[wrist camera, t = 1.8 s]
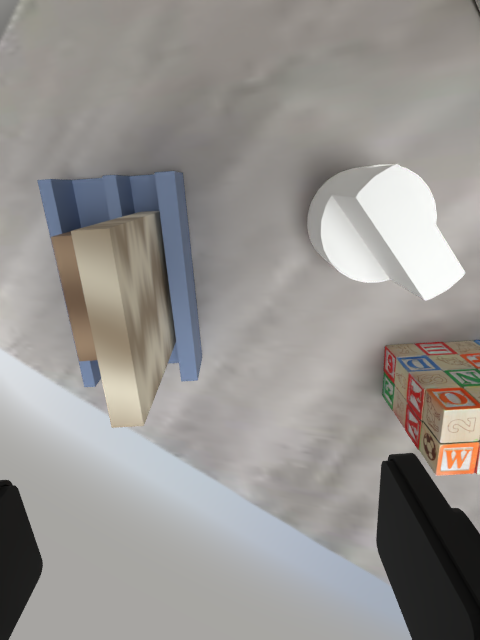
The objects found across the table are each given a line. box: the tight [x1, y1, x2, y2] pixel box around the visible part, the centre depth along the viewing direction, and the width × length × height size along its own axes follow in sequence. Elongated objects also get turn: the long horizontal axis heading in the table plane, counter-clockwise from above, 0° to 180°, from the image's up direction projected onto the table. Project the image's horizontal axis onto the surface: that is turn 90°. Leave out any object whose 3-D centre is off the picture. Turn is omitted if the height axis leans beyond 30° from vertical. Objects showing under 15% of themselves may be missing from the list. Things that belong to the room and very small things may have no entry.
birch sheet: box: [71, 211, 176, 428], centre depth 28 cm, size 12×2×15 cm, turn 4°
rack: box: [37, 171, 202, 387], centre depth 34 cm, size 18×10×5 cm, turn 4°
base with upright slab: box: [307, 164, 465, 300], centre depth 29 cm, size 9×9×12 cm
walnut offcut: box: [51, 231, 97, 361], centre depth 32 cm, size 10×3×7 cm, turn 3°
